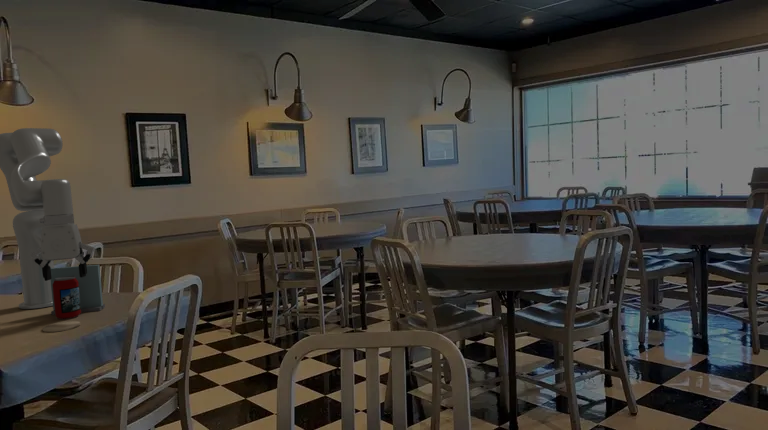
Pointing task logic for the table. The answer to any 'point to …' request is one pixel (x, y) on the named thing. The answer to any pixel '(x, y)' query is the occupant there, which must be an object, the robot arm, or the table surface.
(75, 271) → the screen
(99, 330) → the table surface
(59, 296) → the beverage can
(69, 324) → the coaster
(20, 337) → the table surface
